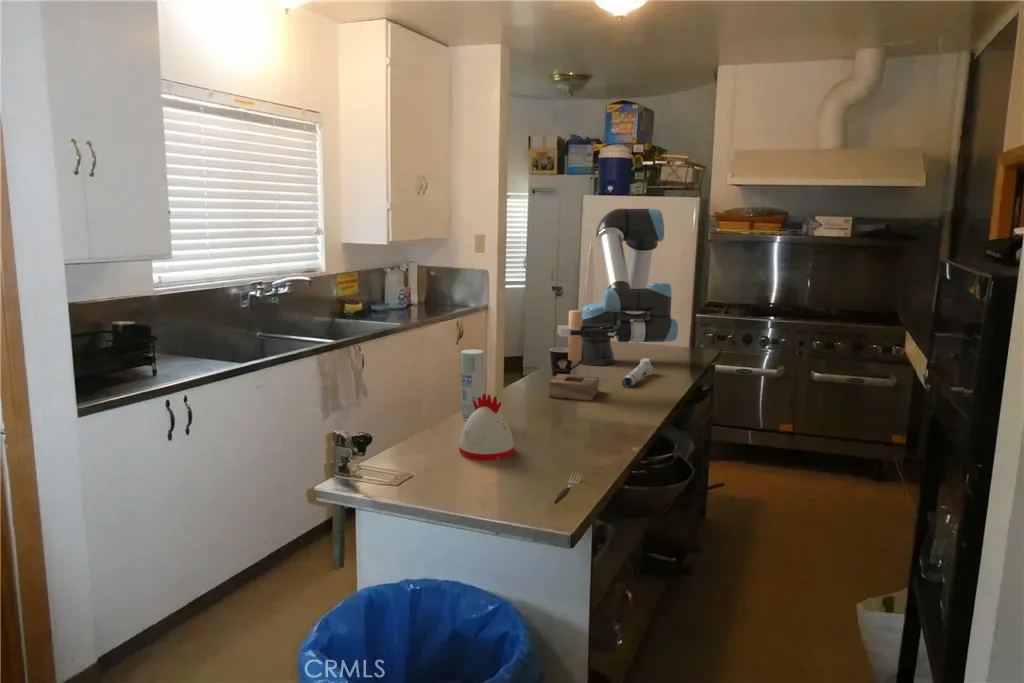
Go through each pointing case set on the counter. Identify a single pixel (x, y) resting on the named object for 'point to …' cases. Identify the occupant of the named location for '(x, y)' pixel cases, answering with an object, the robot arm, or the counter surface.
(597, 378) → the socket block
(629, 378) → the toothbrush head
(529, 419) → the counter surface
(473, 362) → the spray can
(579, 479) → the fork
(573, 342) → the peg
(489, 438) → the kitchen timer
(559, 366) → the coffee mug
